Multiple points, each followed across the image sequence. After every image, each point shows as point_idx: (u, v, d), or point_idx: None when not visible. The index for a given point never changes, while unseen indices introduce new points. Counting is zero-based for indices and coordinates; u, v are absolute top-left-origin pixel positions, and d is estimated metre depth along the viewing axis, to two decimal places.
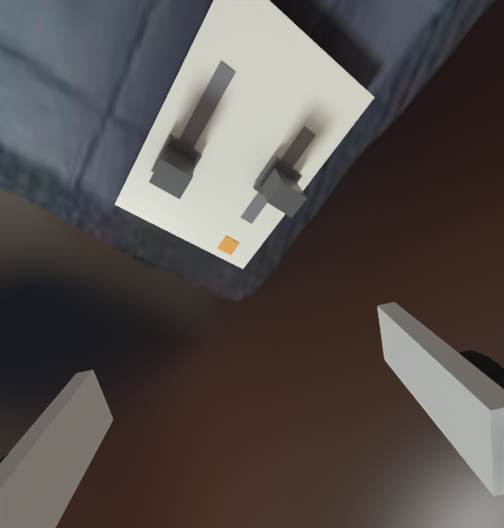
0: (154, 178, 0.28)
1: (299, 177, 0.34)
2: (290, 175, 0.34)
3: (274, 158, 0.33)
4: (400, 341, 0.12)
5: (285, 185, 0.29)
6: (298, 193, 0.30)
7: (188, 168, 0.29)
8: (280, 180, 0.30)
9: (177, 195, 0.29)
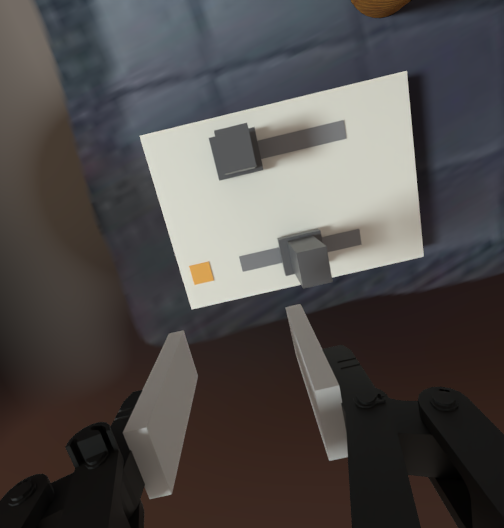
0: (222, 132, 0.22)
1: None
2: None
3: (317, 230, 0.30)
4: (294, 337, 0.14)
5: (325, 252, 0.25)
6: (329, 270, 0.25)
7: None
8: (323, 245, 0.25)
9: (226, 168, 0.23)
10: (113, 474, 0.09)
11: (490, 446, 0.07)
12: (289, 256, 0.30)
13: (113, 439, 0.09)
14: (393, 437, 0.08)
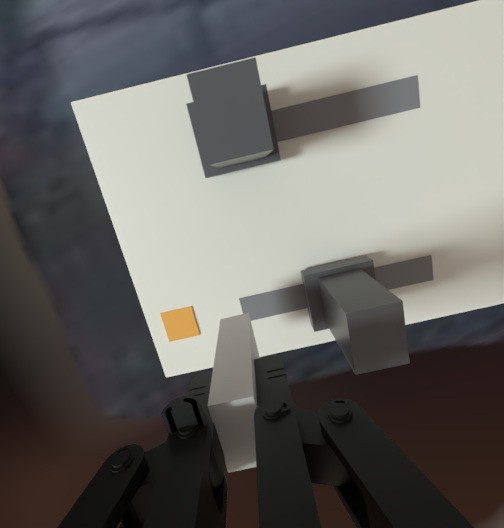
0: (204, 79, 0.11)
1: None
2: None
3: (368, 259, 0.18)
4: None
5: (400, 312, 0.13)
6: (404, 343, 0.14)
7: None
8: (393, 296, 0.14)
9: (213, 152, 0.11)
10: (202, 449, 0.09)
11: (378, 451, 0.07)
12: (321, 301, 0.18)
13: (203, 414, 0.09)
14: (297, 442, 0.08)
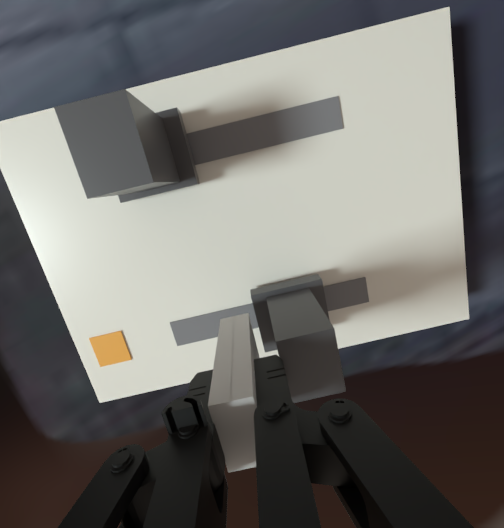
0: (73, 112, 0.10)
1: None
2: None
3: (317, 278, 0.18)
4: None
5: (332, 339, 0.13)
6: (339, 371, 0.13)
7: (161, 168, 0.13)
8: (327, 322, 0.13)
9: (89, 186, 0.11)
10: (203, 449, 0.09)
11: (378, 451, 0.07)
12: (270, 321, 0.18)
13: (203, 414, 0.09)
14: (296, 442, 0.08)
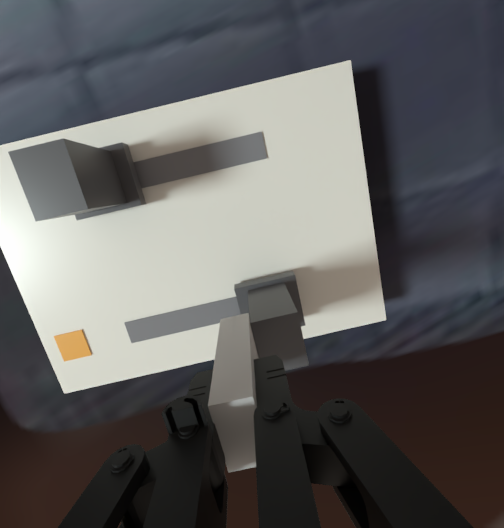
0: (23, 155, 0.13)
1: (300, 324, 0.21)
2: None
3: (291, 274, 0.21)
4: None
5: (296, 321, 0.16)
6: (303, 348, 0.16)
7: (100, 196, 0.16)
8: (293, 308, 0.16)
9: (37, 212, 0.14)
10: (203, 449, 0.09)
11: (378, 451, 0.07)
12: None
13: (204, 414, 0.09)
14: (296, 442, 0.08)
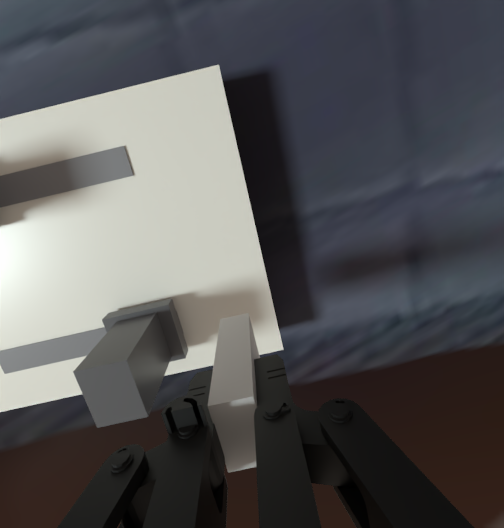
0: None
1: (180, 356, 0.19)
2: (169, 344, 0.19)
3: (166, 303, 0.19)
4: None
5: (126, 370, 0.14)
6: (139, 398, 0.14)
7: None
8: (128, 353, 0.14)
9: None
10: (202, 449, 0.09)
11: (378, 451, 0.07)
12: None
13: (203, 414, 0.09)
14: (297, 442, 0.08)
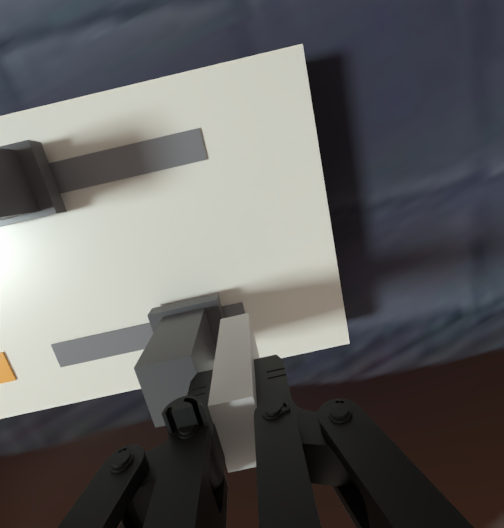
0: None
1: None
2: (216, 341, 0.18)
3: (214, 299, 0.18)
4: None
5: (190, 366, 0.13)
6: None
7: None
8: (190, 348, 0.14)
9: None
10: (203, 449, 0.09)
11: (378, 451, 0.07)
12: None
13: (203, 414, 0.09)
14: (296, 442, 0.08)
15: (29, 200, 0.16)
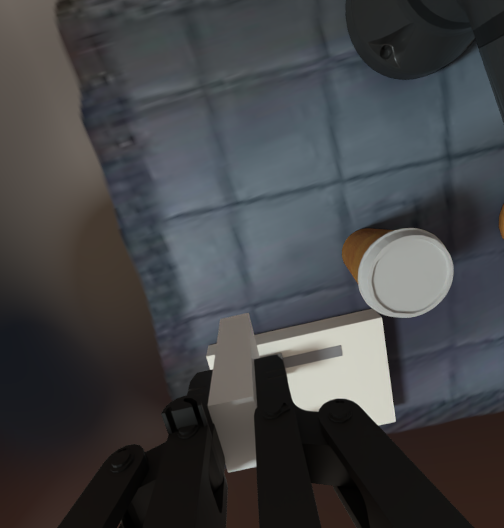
0: None
1: None
2: None
3: None
4: None
5: None
6: None
7: None
8: None
9: None
10: (202, 449, 0.09)
11: (378, 451, 0.07)
12: None
13: (203, 414, 0.09)
14: (297, 442, 0.08)
15: None
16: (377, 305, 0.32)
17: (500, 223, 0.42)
